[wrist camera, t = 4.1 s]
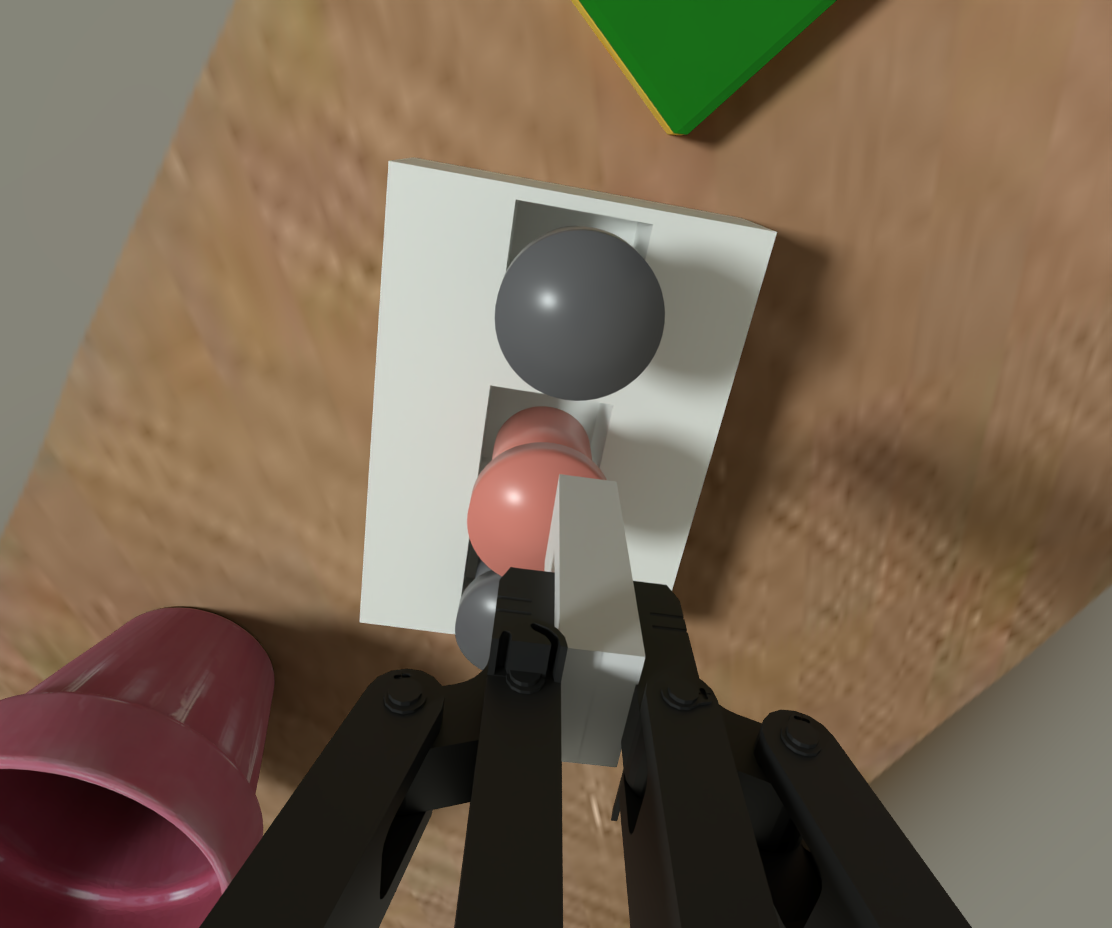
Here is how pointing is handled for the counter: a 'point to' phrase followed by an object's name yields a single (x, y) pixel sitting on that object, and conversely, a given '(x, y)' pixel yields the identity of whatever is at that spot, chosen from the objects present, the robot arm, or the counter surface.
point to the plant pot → (134, 777)
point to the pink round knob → (525, 486)
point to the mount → (498, 392)
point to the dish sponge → (694, 48)
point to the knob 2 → (579, 313)
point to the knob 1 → (477, 615)
